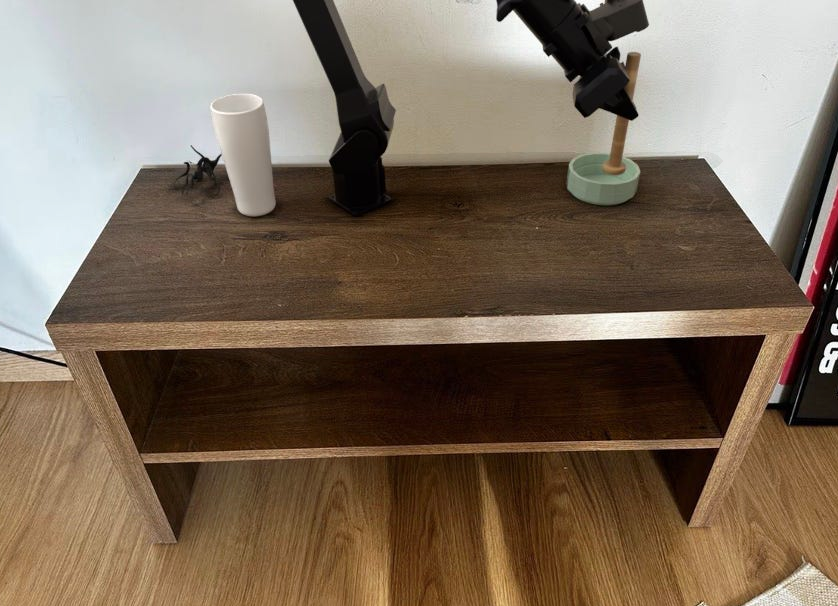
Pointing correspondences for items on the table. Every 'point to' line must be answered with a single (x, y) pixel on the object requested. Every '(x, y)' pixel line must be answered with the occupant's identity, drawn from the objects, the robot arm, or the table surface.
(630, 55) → the stick
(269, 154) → the drinking glass
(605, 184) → the bowl
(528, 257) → the table surface
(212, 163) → the creature
